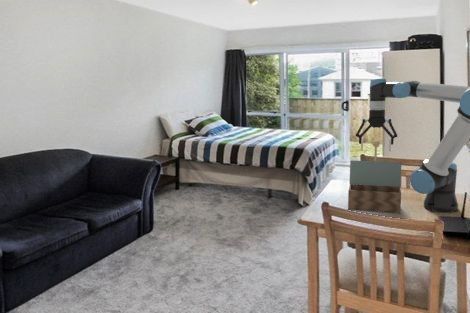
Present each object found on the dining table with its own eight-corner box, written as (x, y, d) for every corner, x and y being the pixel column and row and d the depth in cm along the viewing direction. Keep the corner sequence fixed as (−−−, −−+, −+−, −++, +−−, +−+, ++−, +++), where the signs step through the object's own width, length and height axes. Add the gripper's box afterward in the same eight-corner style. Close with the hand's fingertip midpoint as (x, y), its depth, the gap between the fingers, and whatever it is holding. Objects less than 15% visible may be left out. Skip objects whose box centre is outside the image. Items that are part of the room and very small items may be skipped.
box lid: (400, 186, 199) (400, 186, 203) (402, 140, 200) (401, 140, 203) (349, 184, 208) (349, 183, 211) (350, 139, 208) (351, 140, 212)
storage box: (399, 205, 202) (399, 186, 201) (400, 213, 191) (401, 193, 189) (349, 202, 210) (350, 184, 208) (348, 209, 199) (348, 190, 197)
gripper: (351, 110, 205) (350, 151, 209) (404, 109, 196) (402, 152, 200) (352, 108, 212) (351, 148, 216) (403, 108, 203) (401, 149, 207)
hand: (375, 150), depth 208 cm, fingers open, 13 cm apart
